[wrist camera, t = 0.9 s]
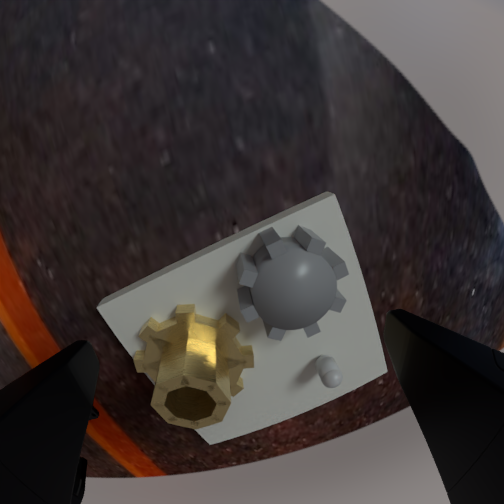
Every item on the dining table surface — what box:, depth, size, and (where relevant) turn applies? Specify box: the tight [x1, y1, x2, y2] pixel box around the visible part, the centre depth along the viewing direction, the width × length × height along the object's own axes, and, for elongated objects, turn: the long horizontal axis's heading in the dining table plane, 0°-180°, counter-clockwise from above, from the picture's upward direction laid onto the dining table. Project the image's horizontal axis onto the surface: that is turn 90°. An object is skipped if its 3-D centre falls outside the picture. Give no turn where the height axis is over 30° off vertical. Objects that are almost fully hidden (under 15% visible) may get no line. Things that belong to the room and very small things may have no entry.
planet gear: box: [133, 304, 254, 429], centre depth 19 cm, size 8×8×5 cm
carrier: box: [97, 192, 387, 445], centre depth 21 cm, size 18×17×5 cm
